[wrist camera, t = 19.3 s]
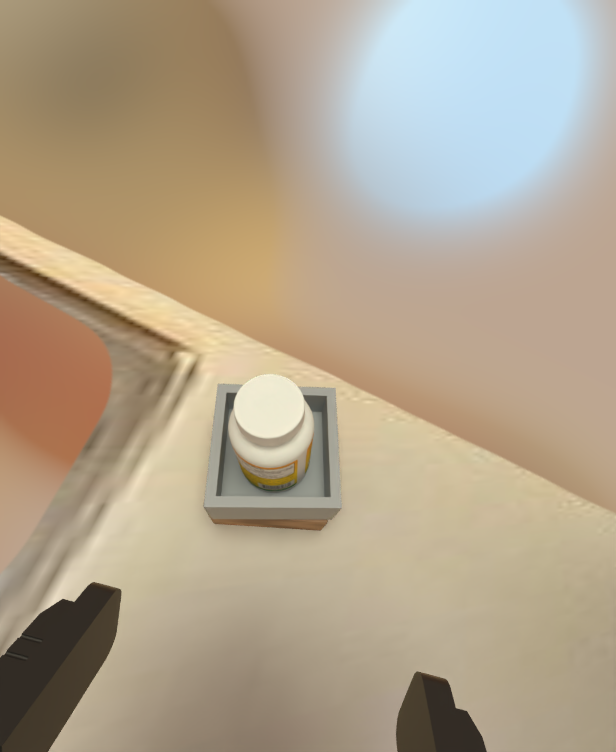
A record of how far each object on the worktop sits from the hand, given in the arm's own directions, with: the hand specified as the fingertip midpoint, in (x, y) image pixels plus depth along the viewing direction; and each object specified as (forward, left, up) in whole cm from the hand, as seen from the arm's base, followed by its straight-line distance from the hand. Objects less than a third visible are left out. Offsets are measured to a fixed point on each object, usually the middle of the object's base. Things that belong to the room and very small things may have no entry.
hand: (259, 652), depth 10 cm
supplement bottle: (0, -10, -17) cm, 20 cm away
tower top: (0, -11, -18) cm, 21 cm away
